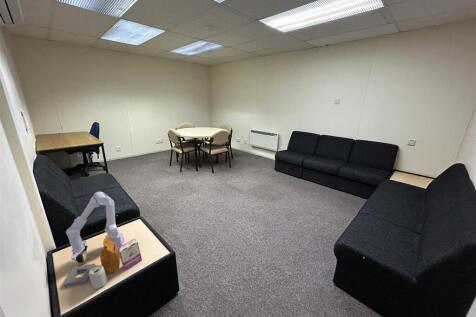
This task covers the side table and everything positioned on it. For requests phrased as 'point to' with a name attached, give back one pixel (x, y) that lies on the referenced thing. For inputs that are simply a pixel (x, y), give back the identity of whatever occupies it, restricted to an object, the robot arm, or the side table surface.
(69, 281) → the housing
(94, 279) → the can
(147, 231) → the side table surface
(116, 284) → the side table surface
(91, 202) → the robot arm
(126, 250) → the candy bar box
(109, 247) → the coffee package
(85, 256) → the jaw block
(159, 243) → the side table surface
